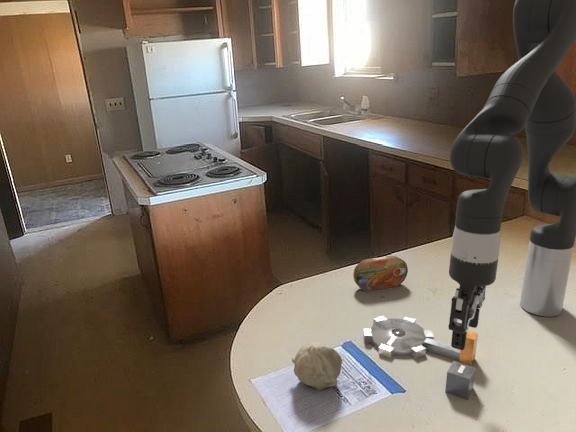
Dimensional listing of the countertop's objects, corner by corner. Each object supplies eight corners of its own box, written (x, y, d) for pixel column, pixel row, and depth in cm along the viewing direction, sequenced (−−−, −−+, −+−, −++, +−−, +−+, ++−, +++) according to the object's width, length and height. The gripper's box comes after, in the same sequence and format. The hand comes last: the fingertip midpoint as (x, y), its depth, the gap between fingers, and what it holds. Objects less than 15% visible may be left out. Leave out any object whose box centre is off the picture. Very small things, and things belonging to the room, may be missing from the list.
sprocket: (381, 317, 117) (381, 309, 116) (440, 334, 109) (441, 326, 109) (353, 347, 105) (353, 338, 105) (417, 368, 98) (418, 359, 97)
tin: (356, 293, 129) (356, 264, 126) (351, 288, 132) (352, 259, 129) (407, 285, 132) (409, 256, 130) (401, 280, 135) (403, 252, 133)
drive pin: (426, 343, 105) (428, 319, 103) (474, 358, 100) (478, 333, 98) (422, 350, 103) (424, 325, 101) (471, 365, 98) (474, 339, 96)
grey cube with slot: (451, 382, 94) (453, 360, 92) (472, 390, 91) (475, 367, 90) (444, 394, 90) (447, 371, 89) (467, 402, 88) (469, 378, 87)
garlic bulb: (339, 393, 95) (358, 355, 91) (309, 408, 89) (328, 368, 85) (308, 360, 100) (324, 323, 96) (278, 372, 95) (294, 333, 91)
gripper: (488, 272, 74) (476, 363, 79) (507, 243, 86) (495, 324, 91) (439, 262, 78) (430, 349, 83) (463, 235, 90) (454, 313, 95)
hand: (464, 336), depth 87 cm, fingers open, 8 cm apart
